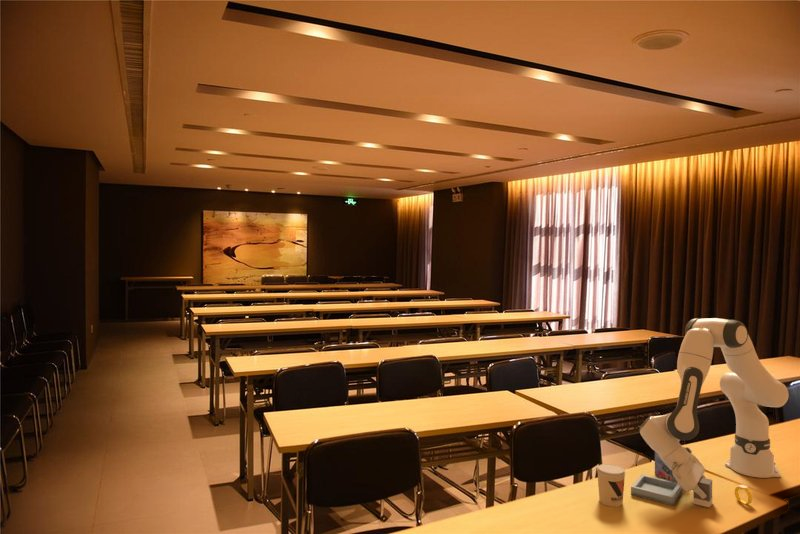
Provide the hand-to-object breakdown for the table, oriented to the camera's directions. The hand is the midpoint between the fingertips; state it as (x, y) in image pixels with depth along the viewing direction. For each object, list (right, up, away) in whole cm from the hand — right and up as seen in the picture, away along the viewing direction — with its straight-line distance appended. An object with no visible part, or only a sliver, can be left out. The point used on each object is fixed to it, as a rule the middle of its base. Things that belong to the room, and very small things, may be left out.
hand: (707, 492), depth 190 cm
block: (-1, -4, +1) cm, 5 cm away
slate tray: (-13, -4, +10) cm, 17 cm away
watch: (+14, -4, +2) cm, 15 cm away
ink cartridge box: (-2, -4, +24) cm, 24 cm away
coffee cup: (-33, -5, +3) cm, 33 cm away
